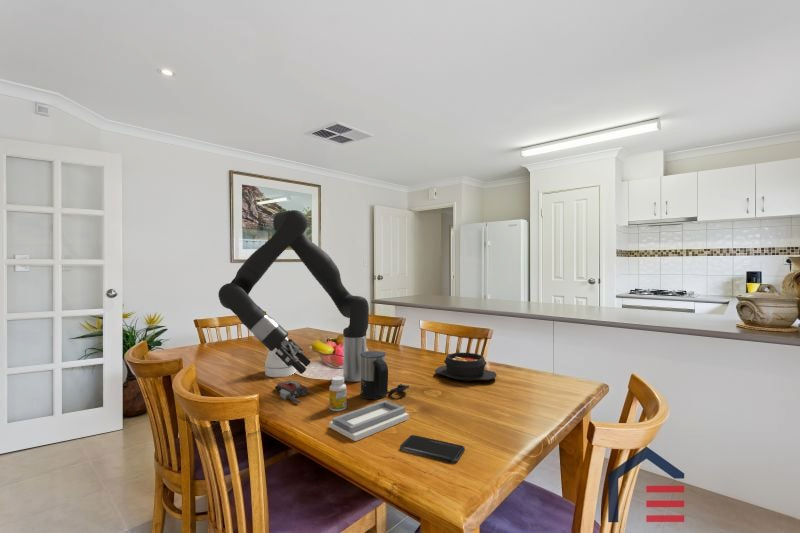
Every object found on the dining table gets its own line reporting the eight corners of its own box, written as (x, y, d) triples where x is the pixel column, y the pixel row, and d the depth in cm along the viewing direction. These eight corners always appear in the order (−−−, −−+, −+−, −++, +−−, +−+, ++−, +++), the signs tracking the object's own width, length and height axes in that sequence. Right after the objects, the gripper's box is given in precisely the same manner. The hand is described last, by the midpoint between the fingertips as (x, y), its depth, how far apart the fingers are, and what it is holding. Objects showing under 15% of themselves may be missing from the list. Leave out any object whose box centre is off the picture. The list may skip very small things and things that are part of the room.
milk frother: (354, 395, 135) (354, 353, 134) (386, 384, 146) (386, 346, 146) (382, 405, 125) (382, 360, 125) (414, 393, 136) (414, 352, 136)
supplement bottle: (327, 406, 124) (327, 376, 124) (344, 404, 126) (343, 374, 126) (331, 412, 119) (331, 381, 119) (348, 409, 121) (348, 379, 121)
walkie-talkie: (269, 392, 140) (296, 407, 125) (269, 380, 140) (296, 393, 125) (291, 386, 146) (319, 400, 131) (291, 375, 146) (319, 387, 131)
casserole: (501, 375, 158) (501, 354, 158) (490, 388, 142) (490, 365, 141) (444, 367, 170) (444, 348, 169) (427, 379, 153) (427, 358, 153)
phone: (455, 461, 89) (398, 446, 96) (455, 465, 89) (398, 451, 96) (466, 446, 96) (411, 434, 103) (466, 450, 96) (411, 438, 103)
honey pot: (291, 377, 156) (291, 333, 156) (260, 377, 156) (260, 333, 156) (300, 368, 169) (300, 327, 169) (271, 368, 169) (271, 327, 169)
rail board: (382, 408, 123) (382, 398, 123) (408, 419, 114) (408, 409, 114) (329, 427, 109) (329, 416, 109) (355, 441, 100) (355, 429, 100)
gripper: (272, 327, 114) (311, 365, 115) (283, 320, 128) (318, 354, 129) (254, 346, 114) (293, 383, 115) (267, 336, 128) (302, 370, 129)
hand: (306, 367), depth 122 cm, fingers open, 8 cm apart
